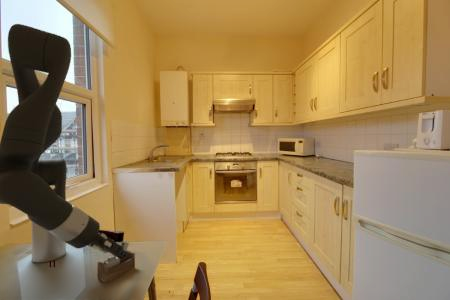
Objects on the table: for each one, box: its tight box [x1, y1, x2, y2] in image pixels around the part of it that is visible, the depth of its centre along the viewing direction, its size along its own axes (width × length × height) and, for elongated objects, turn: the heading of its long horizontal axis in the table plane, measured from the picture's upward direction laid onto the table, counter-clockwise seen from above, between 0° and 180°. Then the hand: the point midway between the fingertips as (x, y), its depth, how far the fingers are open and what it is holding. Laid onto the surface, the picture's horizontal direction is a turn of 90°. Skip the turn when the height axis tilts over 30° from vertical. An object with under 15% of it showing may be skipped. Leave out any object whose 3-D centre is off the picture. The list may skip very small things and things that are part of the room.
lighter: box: [103, 240, 130, 269], centre depth 67 cm, size 7×2×8 cm, turn 149°
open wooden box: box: [97, 249, 136, 283], centre depth 67 cm, size 4×9×4 cm, turn 149°
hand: (116, 253), depth 67 cm, fingers open, 8 cm apart
